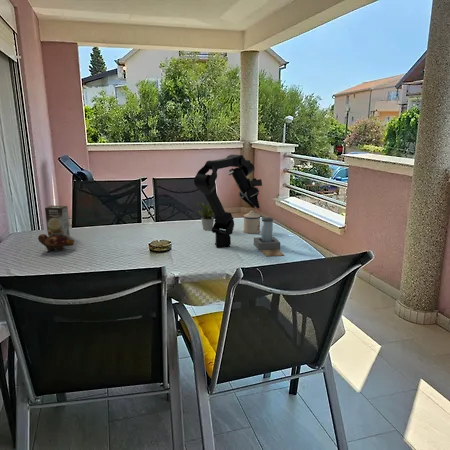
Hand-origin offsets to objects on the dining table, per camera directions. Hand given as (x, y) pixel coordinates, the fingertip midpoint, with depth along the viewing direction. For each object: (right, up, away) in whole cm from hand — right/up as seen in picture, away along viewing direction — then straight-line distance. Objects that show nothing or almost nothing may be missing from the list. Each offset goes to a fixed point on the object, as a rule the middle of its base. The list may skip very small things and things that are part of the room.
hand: (256, 207), depth 191 cm
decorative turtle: (-93, -20, -10) cm, 95 cm away
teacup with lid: (-1, -12, +21) cm, 24 cm away
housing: (+4, -19, -7) cm, 21 cm away
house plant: (-26, -11, +26) cm, 38 cm away
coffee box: (-100, -15, +10) cm, 102 cm away
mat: (+6, -21, -17) cm, 27 cm away
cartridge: (+4, -19, -7) cm, 21 cm away
